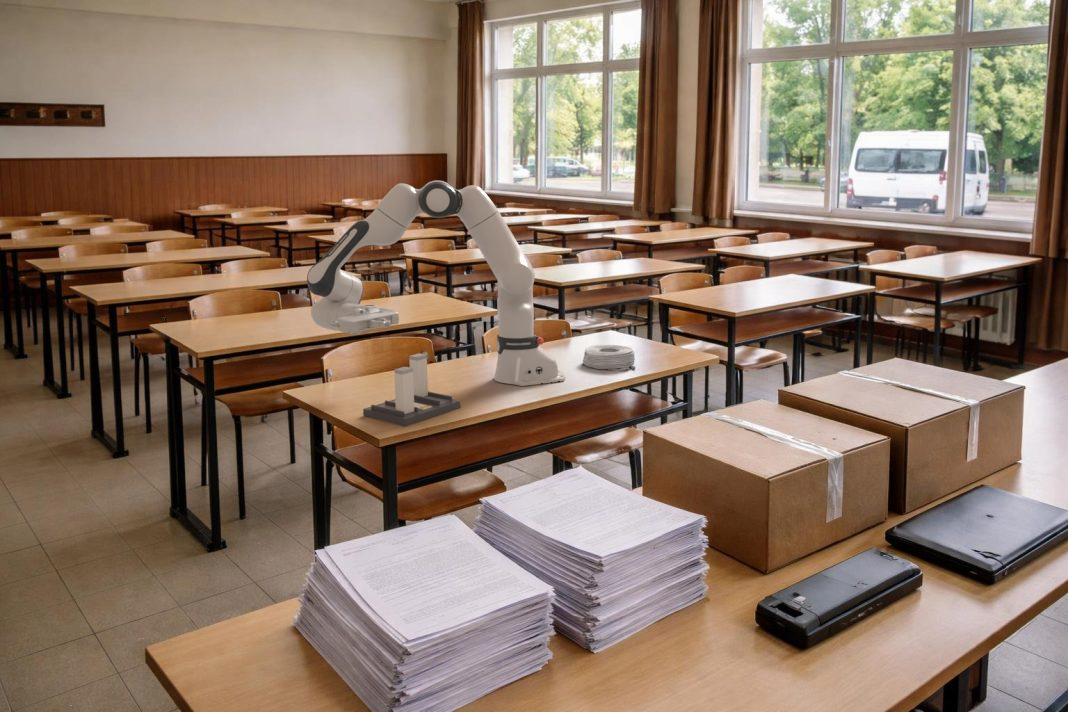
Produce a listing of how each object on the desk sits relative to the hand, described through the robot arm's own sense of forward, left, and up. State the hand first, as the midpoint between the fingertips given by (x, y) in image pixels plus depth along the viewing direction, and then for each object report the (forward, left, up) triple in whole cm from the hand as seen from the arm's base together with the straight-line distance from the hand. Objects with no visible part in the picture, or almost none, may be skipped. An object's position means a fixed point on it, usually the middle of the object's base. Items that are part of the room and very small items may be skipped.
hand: (387, 324), depth 269 cm
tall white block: (-8, +9, -19) cm, 23 cm away
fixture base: (-5, +16, -22) cm, 28 cm away
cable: (-75, -24, -22) cm, 82 cm away
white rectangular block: (-2, +24, -19) cm, 31 cm away
